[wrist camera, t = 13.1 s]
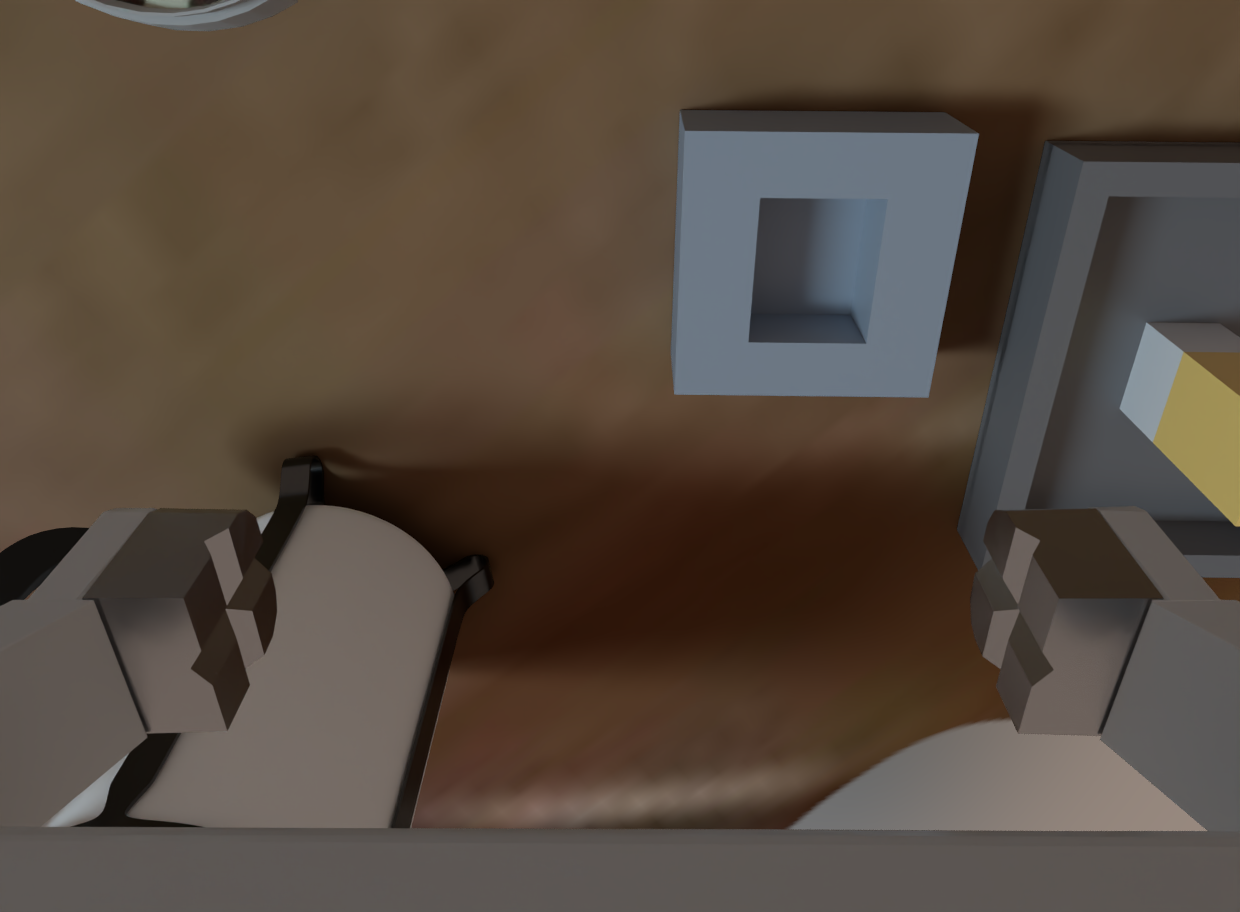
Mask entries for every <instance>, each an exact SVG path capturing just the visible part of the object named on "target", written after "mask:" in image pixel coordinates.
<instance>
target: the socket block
mask: <svg viewBox="0 0 1240 912" xmlns="http://www.w3.org/2000/svg"><path fill="white" fill-rule="evenodd" d="M978 137H979V133H977V132H976V131H974V130H972V129H971V128H969V127H968V126H966V125H964V124H963V123H961V122H960V121H958V120H957V119H955V118H953V117H952V116H950V115H949V114H947V113H945V112H856V111H746V110H680V121H679V148H678V176H677V203H676V230H675V257H674V285H673V312H672V339H671V360H672V372H673V384H674V394H682V395H767V396H851V397H929V391H930V386H931V381H932V376H933V371H934V365H935V360H936V355H937V350H938V345H939V339H940V334H941V329H942V324H943V319H944V313H945V308H946V303H947V298H948V293H949V287H950V282H951V277H952V272H953V267H954V261H955V256H956V251H957V246H958V241H959V235H960V230H961V225H962V220H963V215H964V209H965V204H966V199H967V194H968V189H969V183H970V178H971V173H972V168H973V163H974V157H975V152H976V147H977V142H978Z"/></svg>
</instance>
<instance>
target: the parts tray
mask: <svg viewBox="0 0 1240 912" xmlns="http://www.w3.org/2000/svg"><path fill="white" fill-rule="evenodd" d="M1146 322H1160V323H1220V324H1221V325H1223V326H1224V327H1226V328H1227V329H1229V330H1230V331H1231V332H1233V333H1234V334H1236V335H1237V336H1239V337H1240V143H1231V142H1125V141H1045V144H1044V149H1043V153H1042V158H1041V162H1040V166H1039V171H1038V175H1037V180H1036V184H1035V188H1034V193H1033V197H1032V202H1031V206H1030V210H1029V215H1028V219H1027V224H1026V228H1025V232H1024V237H1023V241H1022V246H1021V250H1020V254H1019V259H1018V263H1017V268H1016V272H1015V276H1014V281H1013V285H1012V289H1011V294H1010V298H1009V303H1008V307H1007V311H1006V316H1005V320H1004V325H1003V329H1002V333H1001V338H1000V342H999V347H998V351H997V355H996V360H995V364H994V369H993V373H992V377H991V382H990V386H989V391H988V395H987V399H986V404H985V408H984V413H983V417H982V421H981V426H980V430H979V435H978V439H977V443H976V448H975V452H974V457H973V461H972V465H971V470H970V474H969V479H968V483H967V487H966V492H965V496H964V501H963V505H962V509H961V514H960V518H959V522H958V527H957V531H958V533H959V535H960V536H961V538H962V540H963V542H964V544H965V546H966V548H967V550H968V552H969V554H970V555H971V557H972V559H973V561H974V563H975V565H976V567H977V569H978V570H979V569H980V568H981V567H983V566H984V565H985V564H986V563H987V562H988V561H989V560H990V559H991V558H992V557H991V555H990V553H989V552H988V550H987V548H986V546H985V544H984V542H983V538H984V535H985V531H986V527H987V523H988V521H989V519H990V517H991V515H992V514H993V512H994V510H1029V509H1087V508H1091V507H1122V506H1136V507H1138V508H1140V509H1142V510H1145V511H1146V512H1147V513H1148V514H1149V515H1150V516H1151V517H1152V519H1153V520H1154V521H1155V522H1156V523H1157V525H1158V526H1159V527H1160V528H1161V529H1162V531H1163V532H1164V533H1165V534H1166V535H1167V537H1168V538H1169V539H1170V540H1171V541H1172V543H1173V544H1174V545H1175V546H1176V547H1177V549H1178V550H1179V551H1180V552H1181V553H1182V555H1183V556H1184V557H1185V558H1186V559H1187V561H1188V562H1189V563H1190V564H1191V565H1192V567H1193V568H1194V569H1195V570H1196V571H1197V573H1198V574H1199V575H1200V576H1201V577H1225V578H1240V526H1234V524H1233V523H1232V522H1231V521H1230V520H1229V519H1228V518H1227V517H1226V516H1225V515H1224V514H1223V513H1222V512H1221V511H1220V510H1219V509H1218V508H1217V507H1216V506H1215V505H1214V504H1213V503H1212V502H1211V501H1210V500H1209V499H1208V498H1207V497H1206V496H1205V495H1204V494H1203V493H1202V492H1201V491H1200V490H1199V489H1198V488H1197V487H1196V486H1195V485H1194V484H1193V483H1192V482H1191V481H1190V480H1189V479H1188V478H1187V477H1186V476H1185V475H1184V474H1183V473H1182V472H1181V471H1180V470H1179V469H1178V468H1177V467H1176V466H1175V465H1174V464H1173V463H1172V462H1171V461H1170V460H1169V459H1168V458H1167V456H1166V455H1165V454H1164V453H1163V452H1162V451H1161V450H1160V449H1159V448H1158V447H1157V446H1156V445H1155V444H1154V443H1153V442H1152V441H1151V440H1150V439H1149V438H1148V437H1147V436H1146V435H1145V434H1144V433H1143V432H1142V431H1141V430H1140V429H1139V428H1138V427H1137V426H1136V425H1135V424H1134V423H1133V422H1132V421H1131V420H1130V419H1129V418H1128V417H1127V416H1126V415H1125V414H1124V413H1123V412H1122V411H1121V410H1120V405H1121V402H1122V399H1123V396H1124V393H1125V389H1126V386H1127V383H1128V380H1129V377H1130V373H1131V370H1132V367H1133V364H1134V361H1135V357H1136V354H1137V351H1138V348H1139V345H1140V341H1141V338H1142V335H1143V332H1144V329H1145V325H1146Z"/></svg>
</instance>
